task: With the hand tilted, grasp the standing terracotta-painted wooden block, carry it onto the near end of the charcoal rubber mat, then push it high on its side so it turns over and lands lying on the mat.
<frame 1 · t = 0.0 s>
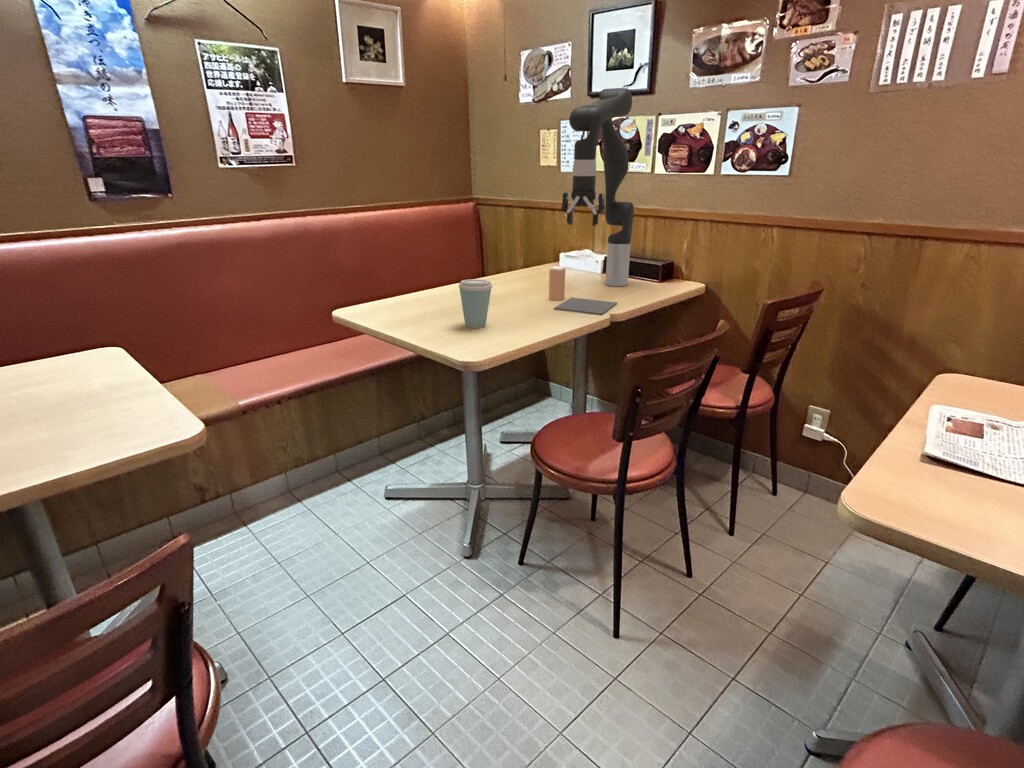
hand: (582, 225, 198), 29 cm above the table, tool pointing down, fingers open, 8 cm apart
charcoal mat: (586, 306, 213), on the table
terracotta block: (556, 299, 224), on the table
disposable coffee cup: (476, 326, 192), on the table
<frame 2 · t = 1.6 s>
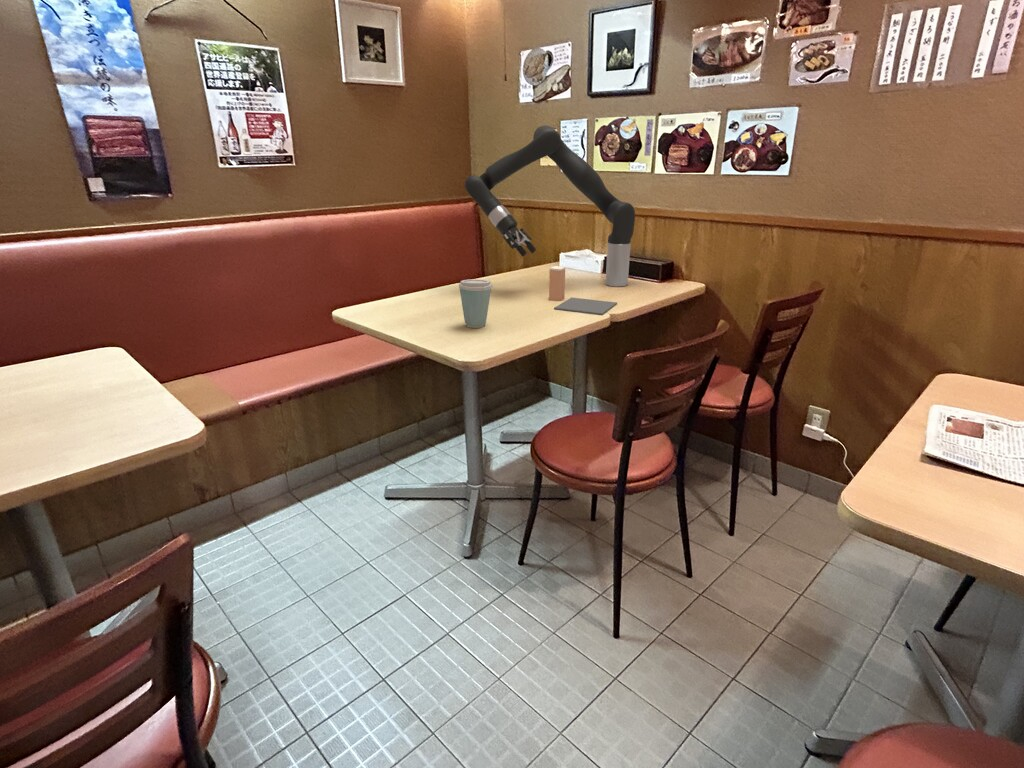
hand: (529, 253, 222), 16 cm above the table, tool tilted 45°, fingers open, 8 cm apart
nothing on the table moved.
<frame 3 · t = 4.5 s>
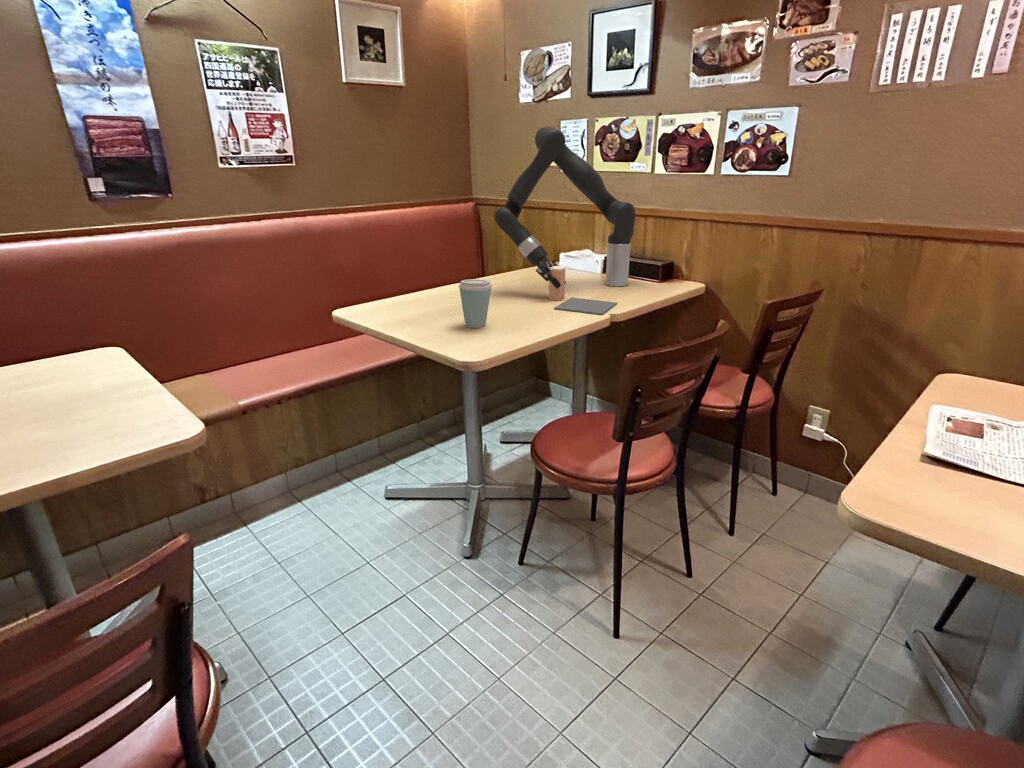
hand: (561, 285, 221), 5 cm above the table, tool tilted 45°, fingers closed on terracotta block, 4 cm apart
terracotta block: (556, 299, 224), on the table, touching gripper
everything else where it was.
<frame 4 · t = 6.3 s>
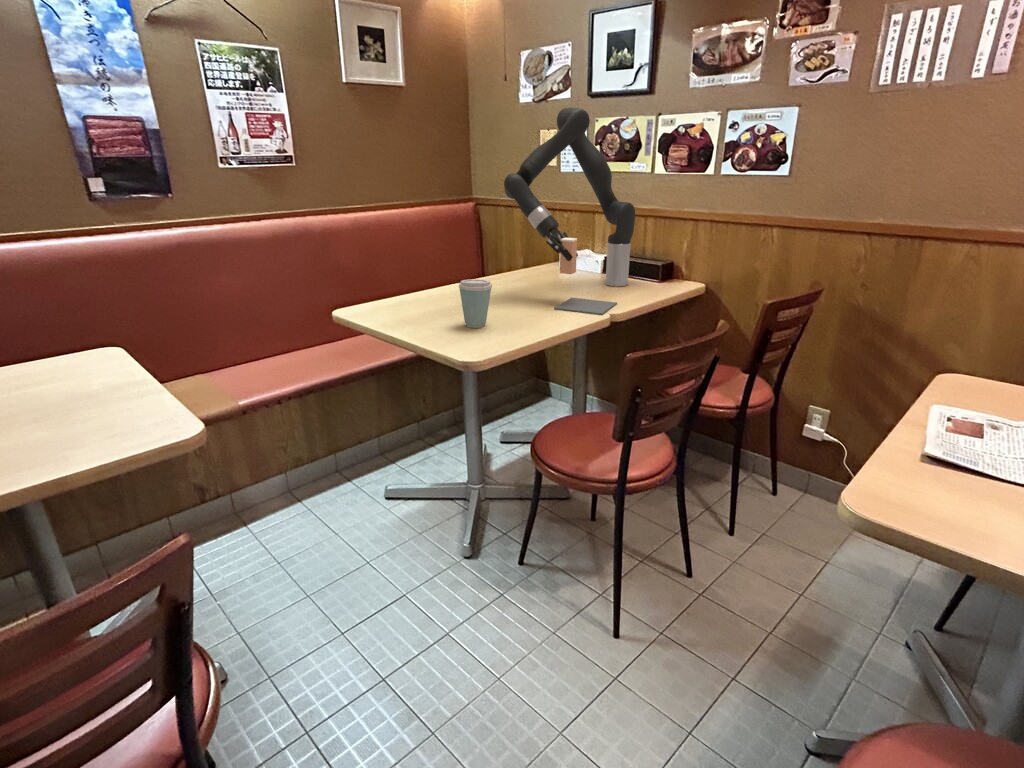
hand: (573, 258, 209), 17 cm above the table, tool tilted 45°, fingers closed on terracotta block, 4 cm apart
terracotta block: (567, 272, 212), point 12 cm above the table, touching gripper
everything else where it was.
when the fingers open (7 cm above the table, at t = 8.6 s): terracotta block stays where it is, resting on charcoal mat.
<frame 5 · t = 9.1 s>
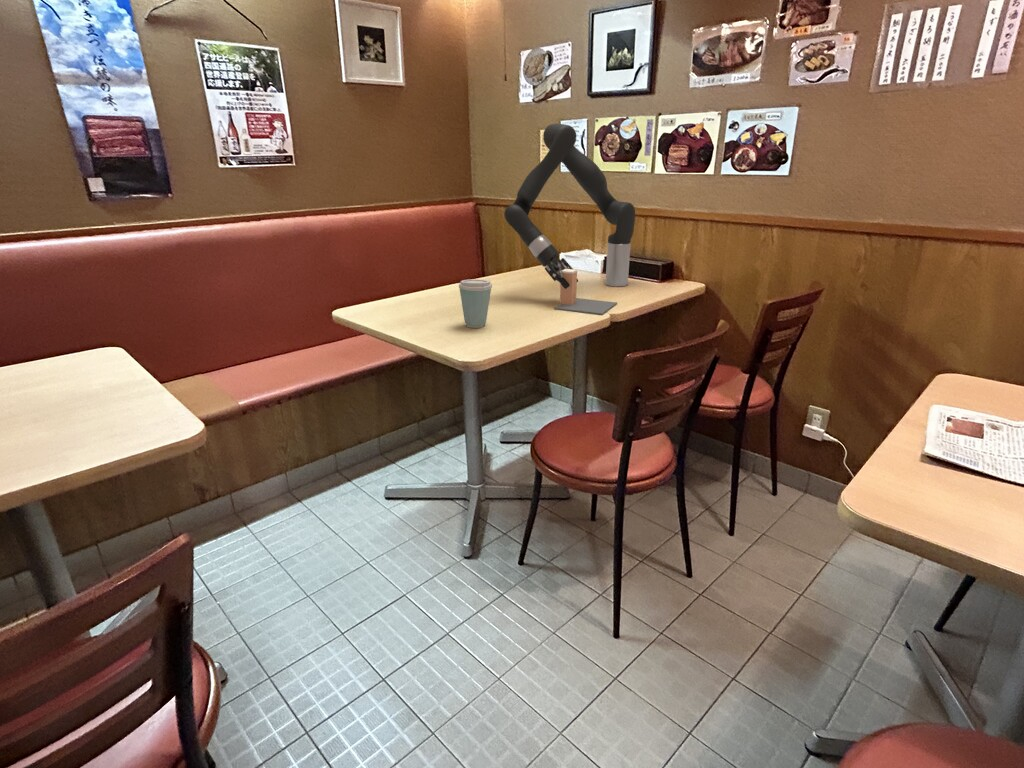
hand: (572, 284, 213), 7 cm above the table, tool tilted 45°, fingers open, 8 cm apart
terracotta block: (567, 302, 216), point 1 cm above the table, touching charcoal mat
everything else where it was.
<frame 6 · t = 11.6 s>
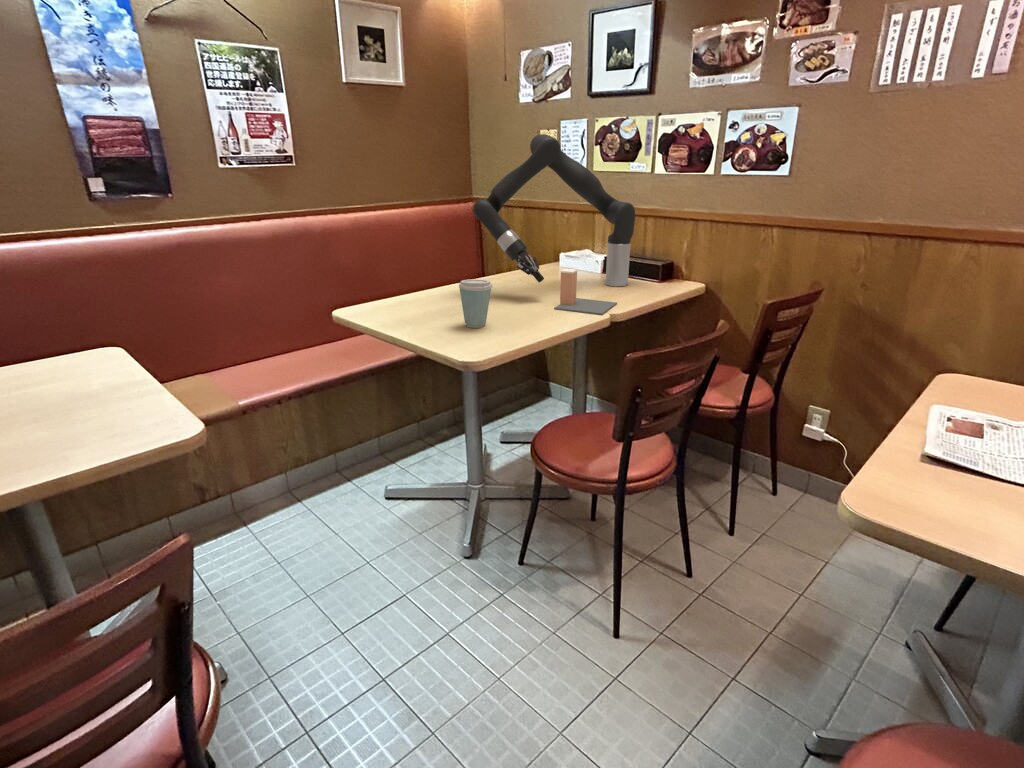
hand: (541, 280, 218), 8 cm above the table, tool tilted 45°, fingers closed
nothing on the table moved.
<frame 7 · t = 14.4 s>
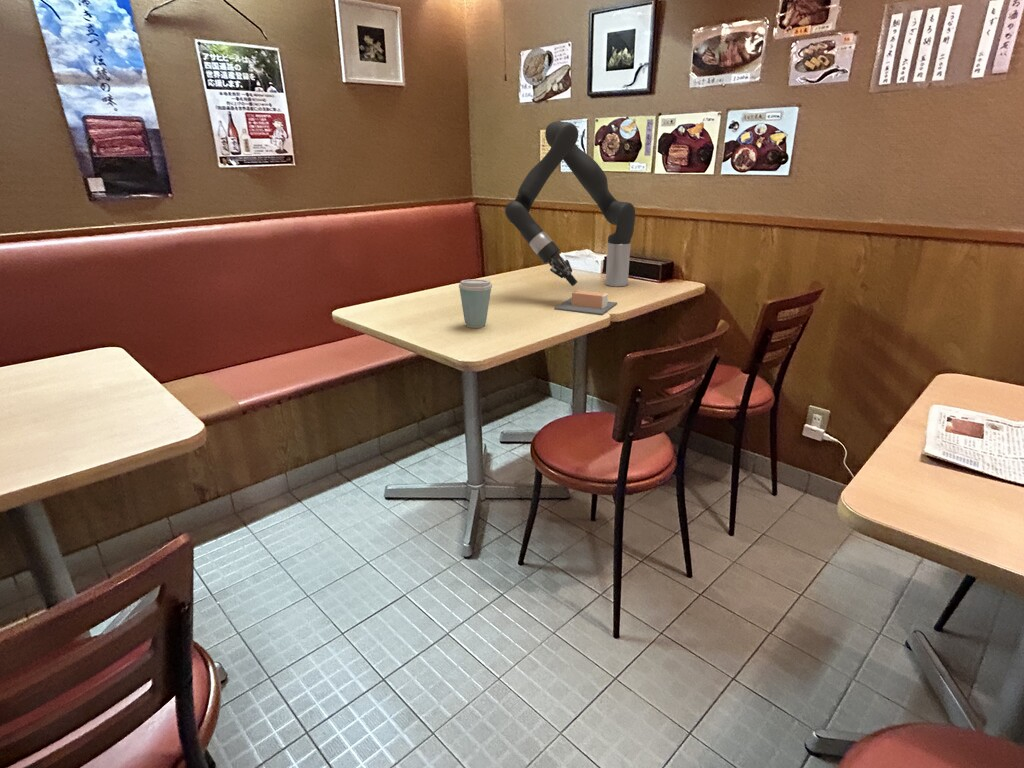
hand: (575, 284, 212), 8 cm above the table, tool tilted 45°, fingers closed
terracotta block: (574, 297, 214), point 3 cm above the table, tilted 90°, touching charcoal mat
everything else where it was.
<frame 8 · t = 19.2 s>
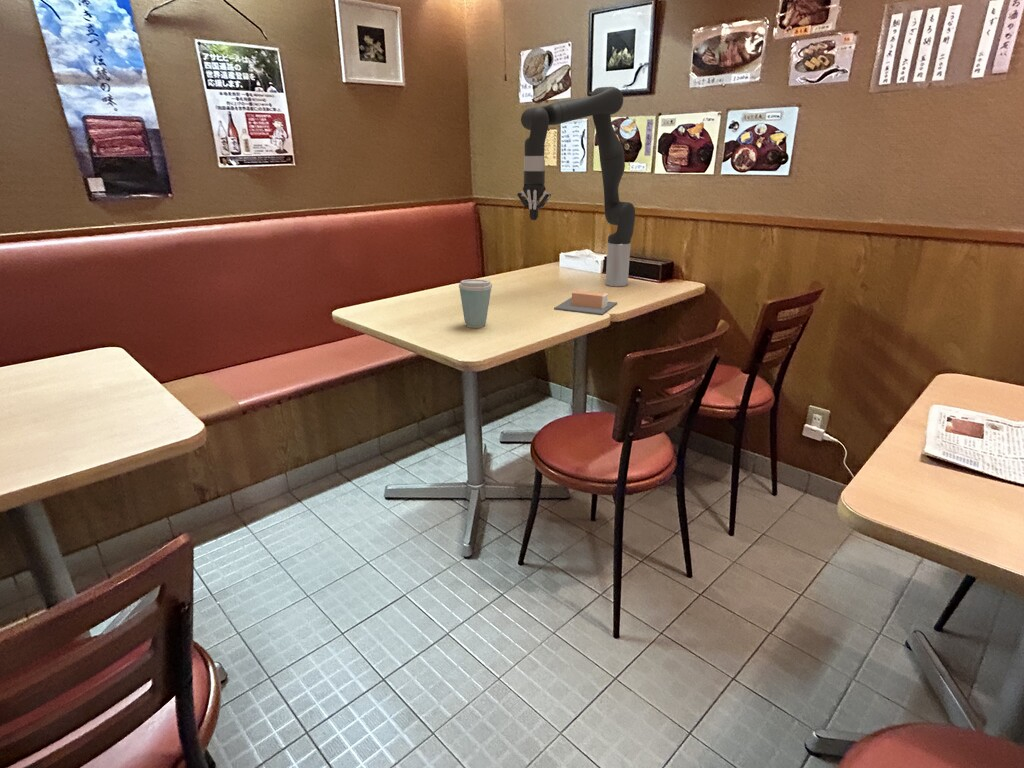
hand: (533, 219, 215), 29 cm above the table, tool pointing down, fingers closed
nothing on the table moved.
at the end: terracotta block tilted 90°; terracotta block inside the target area on the charcoal mat (4.8 cm from its centre), point 2.8 cm above the charcoal mat's base; the gripper is holding nothing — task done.
